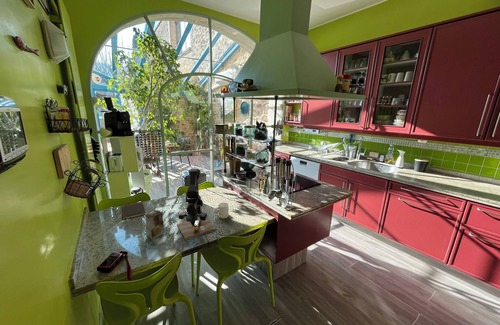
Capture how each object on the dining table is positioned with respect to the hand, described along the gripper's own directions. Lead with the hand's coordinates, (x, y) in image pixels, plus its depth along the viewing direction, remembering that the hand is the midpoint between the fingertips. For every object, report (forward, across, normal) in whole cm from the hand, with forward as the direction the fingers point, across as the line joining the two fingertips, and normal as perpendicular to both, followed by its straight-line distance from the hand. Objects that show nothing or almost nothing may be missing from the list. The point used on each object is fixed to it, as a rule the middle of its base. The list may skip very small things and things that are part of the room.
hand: (193, 226), depth 144 cm
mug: (+3, +16, +22) cm, 27 cm away
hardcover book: (+6, -59, +26) cm, 65 cm away
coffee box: (+4, -24, -6) cm, 26 cm away
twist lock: (+2, +2, +4) cm, 5 cm away
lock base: (+4, +1, +4) cm, 5 cm away
